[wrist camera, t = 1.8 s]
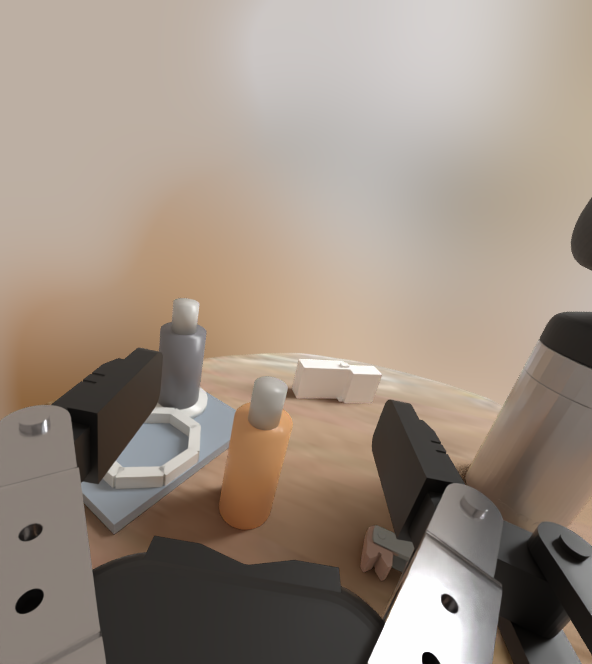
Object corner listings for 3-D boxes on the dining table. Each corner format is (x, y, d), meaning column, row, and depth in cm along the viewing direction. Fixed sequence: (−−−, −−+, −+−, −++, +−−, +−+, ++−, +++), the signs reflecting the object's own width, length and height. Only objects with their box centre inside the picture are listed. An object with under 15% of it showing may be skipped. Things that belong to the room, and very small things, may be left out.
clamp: (361, 595, 21) (375, 485, 30) (352, 614, 22) (368, 501, 31) (626, 730, 18) (552, 560, 27) (603, 747, 18) (539, 577, 28)
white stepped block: (272, 400, 43) (280, 363, 41) (300, 367, 53) (308, 336, 51) (381, 446, 39) (397, 407, 37) (390, 401, 49) (402, 369, 47)
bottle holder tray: (184, 386, 41) (194, 288, 36) (253, 428, 36) (274, 323, 31) (35, 452, 27) (19, 311, 23) (114, 534, 23) (114, 378, 18)
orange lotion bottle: (242, 475, 30) (264, 363, 26) (280, 502, 28) (312, 387, 24) (207, 507, 26) (226, 382, 22) (249, 541, 24) (279, 413, 20)
